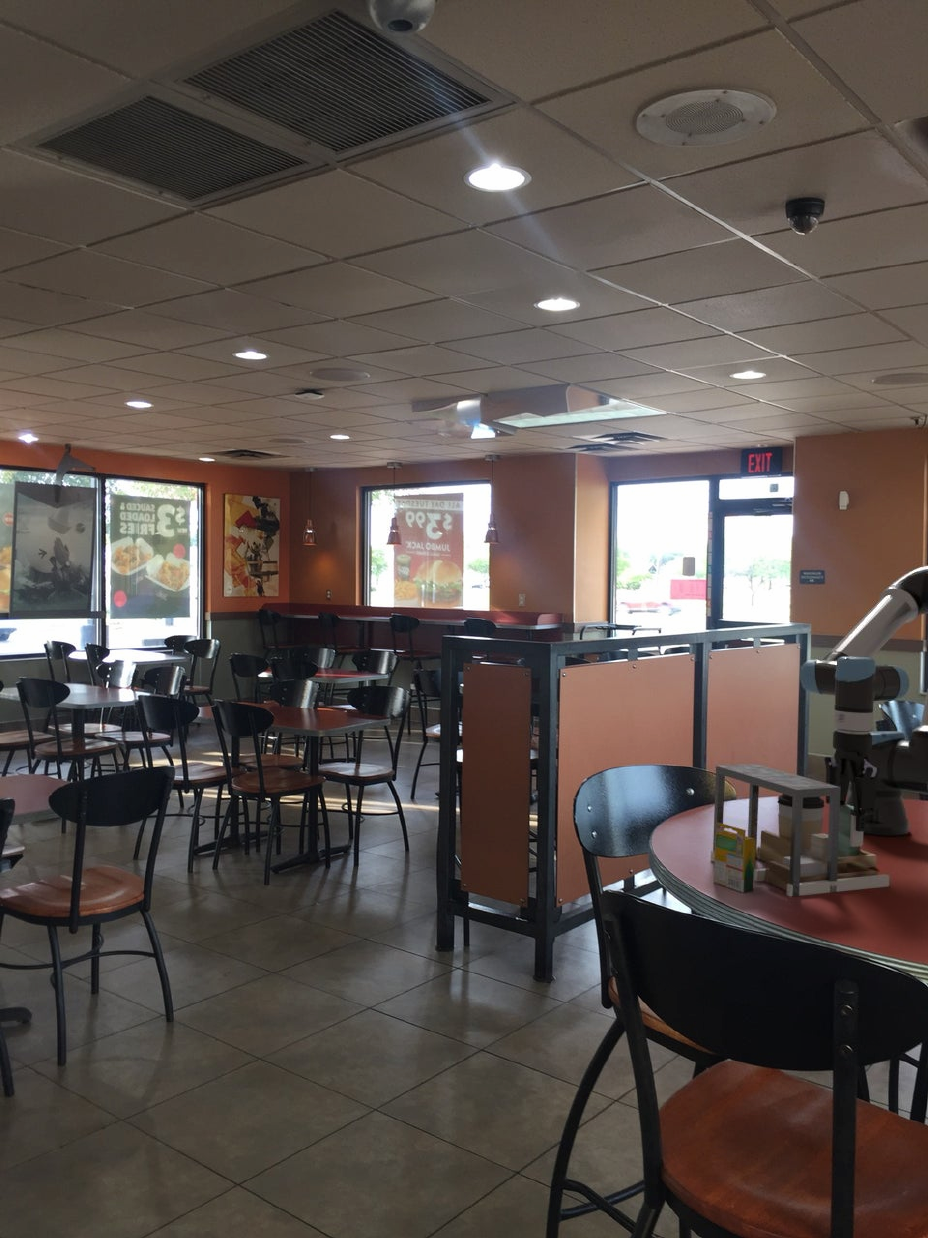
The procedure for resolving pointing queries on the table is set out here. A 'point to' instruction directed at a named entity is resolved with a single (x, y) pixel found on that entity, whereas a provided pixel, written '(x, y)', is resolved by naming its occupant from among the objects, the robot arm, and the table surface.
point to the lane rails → (827, 882)
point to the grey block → (807, 866)
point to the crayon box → (734, 858)
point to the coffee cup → (809, 819)
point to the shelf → (798, 790)
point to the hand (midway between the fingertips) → (847, 843)
